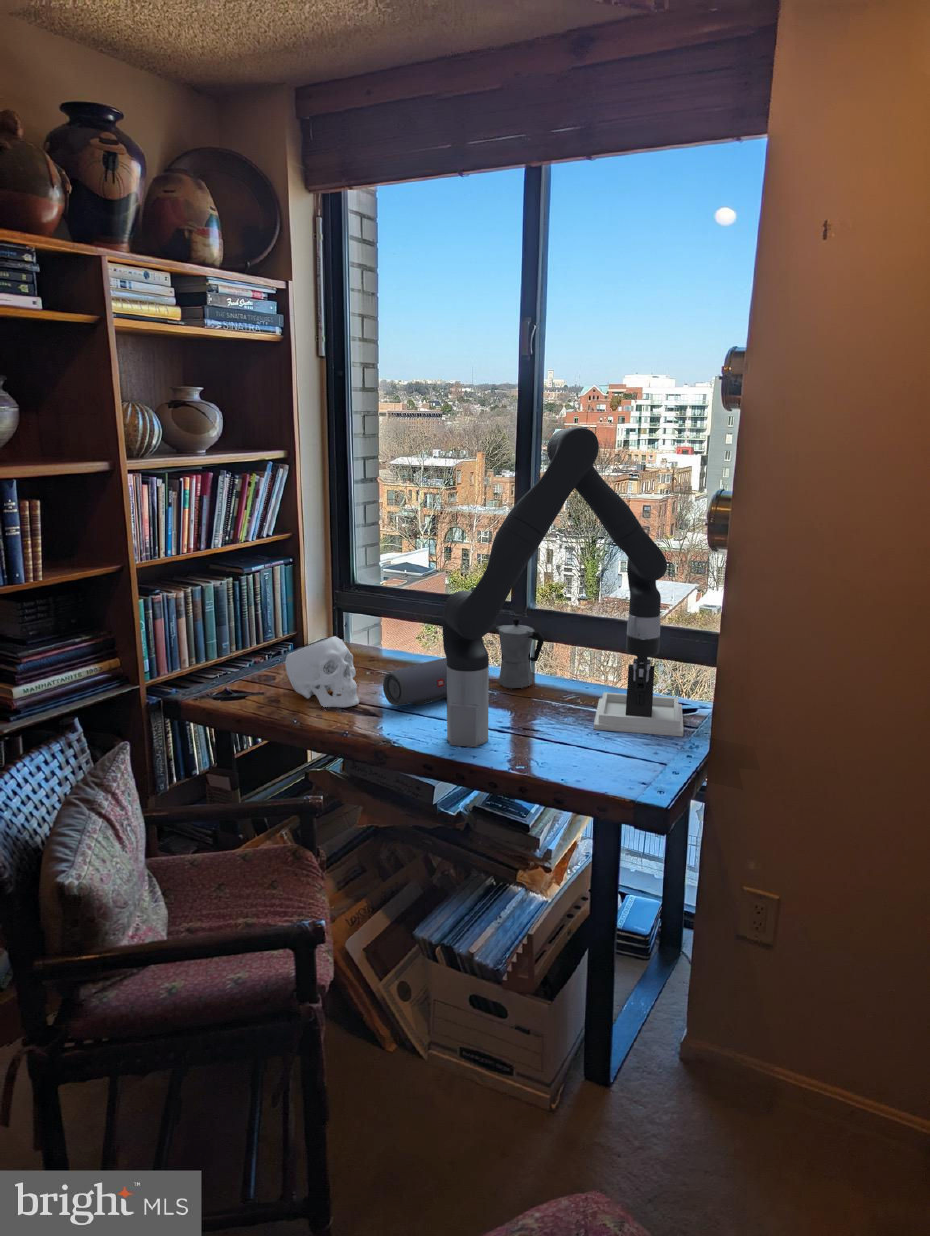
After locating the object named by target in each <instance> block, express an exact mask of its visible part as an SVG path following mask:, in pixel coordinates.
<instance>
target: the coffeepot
mask: <svg viewBox="0 0 930 1236" xmlns="http://www.w3.org/2000/svg"><path fill="white" fill-rule="evenodd" d="M519 623H520V618H518V617H516V618H513V624H511V625H510V624H509V625H508V624H507V625H498V626H496V627H495V628H496V629H497V630H498V637H499V643H500V650H501V654H502V655H503V656H502V657H503V659H502V662H501V667H500V670H499V678H498V684H499V685H500V686H501V685H502V686H501V687H503V688H506V689H507V688H508V689H512V688H514V689H515V688H521V689H524V688H523V687H526V688H528V687H527V686H529V687H531V686H530V684H531V685H533V676H532V668H531V662H530V661H532V662H537V661H538V660H539V657H540V653H541V650H542V648H543V646H544V642H545V638H544V636H543V635H542V633H541V632H540V631H539V630H535V628H532V627H530V626H528V625H523V624H522V625H521V624H519ZM533 639H536V640H537V642H536V647H535V650H534V653H533V657H531V656H530V657H529V655H530V653H531V649H532V642H533ZM514 689H513V690H514Z"/></svg>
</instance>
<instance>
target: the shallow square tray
mask: <svg viewBox="0 0 930 1236" xmlns="http://www.w3.org/2000/svg"><path fill="white" fill-rule="evenodd" d="M626 699H627V693H618V692H615V693H614V692H605V691H604V692H603V693H602V697H600V698H599V699H598V704H597V706H596V707H597V708H596V712H595V716H594V721H593V722H594V723H593V730H597V731H611V732H623V733H634V734H635V733H636V734H646V735H648V734H649V735H661V736H671V737H673V736H674V737H684V720H683V704H681V703H679V697H673V696H672V697H671V696H658V695H653V705H652V718H651V717H639V716H626Z"/></svg>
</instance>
